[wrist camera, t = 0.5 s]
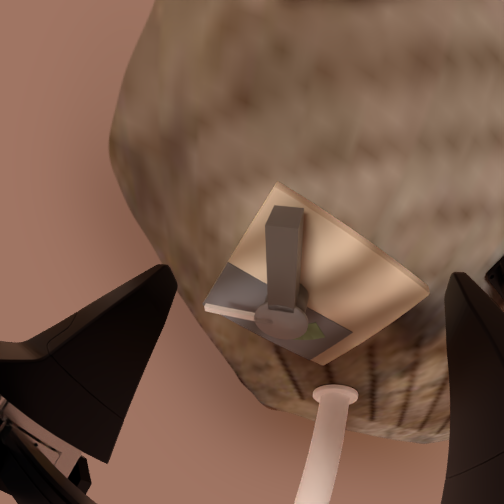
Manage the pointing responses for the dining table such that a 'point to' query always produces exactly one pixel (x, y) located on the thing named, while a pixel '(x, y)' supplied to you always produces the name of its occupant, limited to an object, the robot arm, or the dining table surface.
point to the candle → (325, 443)
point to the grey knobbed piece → (280, 278)
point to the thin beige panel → (321, 281)
